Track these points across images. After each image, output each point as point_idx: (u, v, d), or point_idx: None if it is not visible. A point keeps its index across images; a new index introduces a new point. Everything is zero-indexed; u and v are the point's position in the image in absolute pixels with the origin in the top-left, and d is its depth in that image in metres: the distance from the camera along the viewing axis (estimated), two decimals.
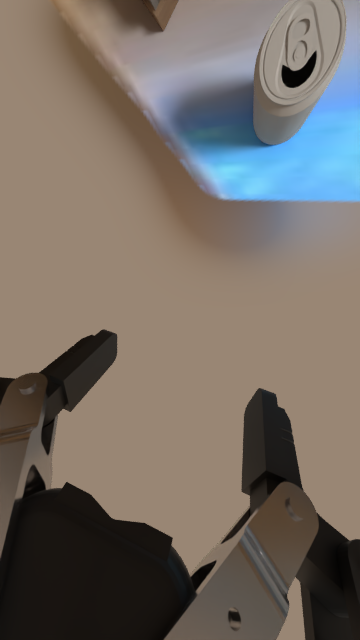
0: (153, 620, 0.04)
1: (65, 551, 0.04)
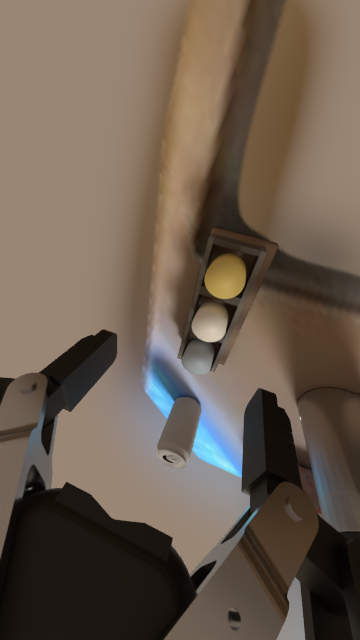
0: (153, 620, 0.04)
1: (65, 551, 0.04)
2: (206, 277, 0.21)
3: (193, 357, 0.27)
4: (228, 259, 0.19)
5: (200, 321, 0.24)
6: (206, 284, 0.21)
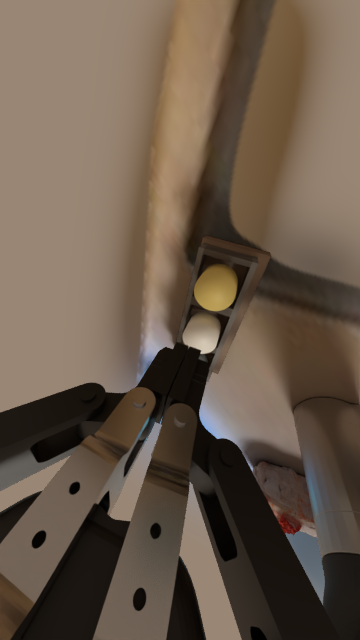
0: (91, 609, 0.04)
1: (65, 551, 0.04)
2: (196, 289, 0.20)
3: None
4: (218, 271, 0.19)
5: (191, 333, 0.23)
6: (196, 296, 0.20)
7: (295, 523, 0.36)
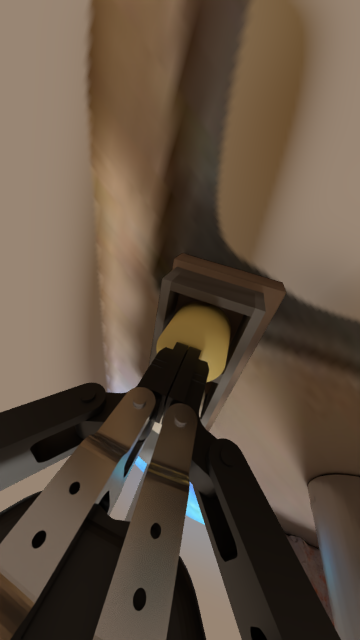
0: (92, 608, 0.04)
1: (65, 551, 0.04)
2: (159, 348, 0.12)
3: (152, 451, 0.17)
4: (194, 324, 0.11)
5: None
6: None
7: None
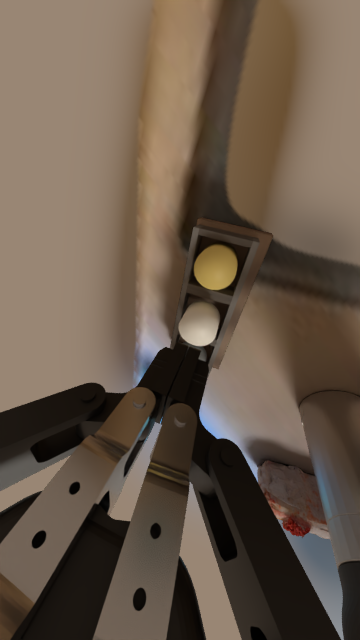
0: (91, 609, 0.04)
1: (65, 551, 0.04)
2: (196, 267, 0.20)
3: None
4: (218, 247, 0.18)
5: (187, 323, 0.21)
6: (196, 275, 0.20)
7: (304, 525, 0.34)
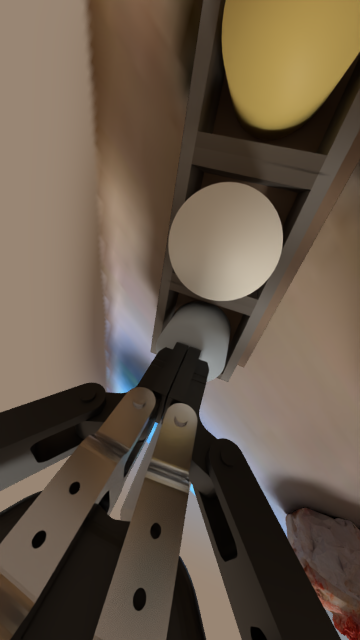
0: (92, 608, 0.04)
1: (65, 551, 0.04)
2: (229, 18, 0.06)
3: (182, 341, 0.11)
4: None
5: (195, 227, 0.07)
6: (228, 57, 0.06)
7: None
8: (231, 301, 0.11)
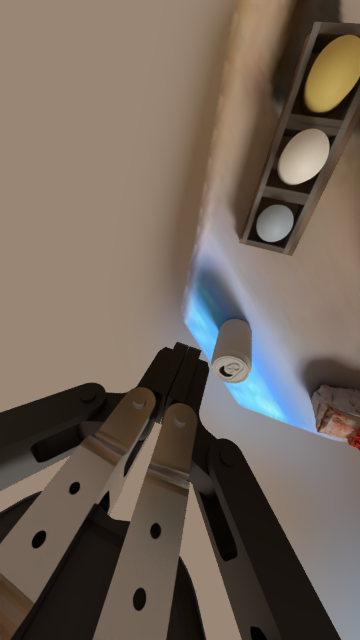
0: (92, 608, 0.04)
1: (65, 551, 0.04)
2: (311, 74, 0.18)
3: (272, 215, 0.24)
4: None
5: (294, 148, 0.19)
6: (309, 87, 0.18)
7: None
8: (295, 197, 0.24)
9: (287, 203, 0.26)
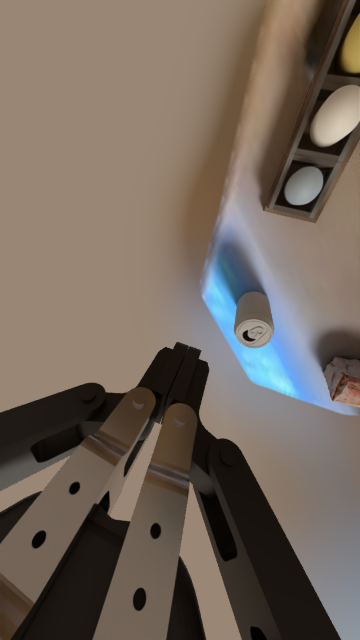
0: (92, 608, 0.04)
1: (65, 551, 0.04)
2: (351, 32, 0.19)
3: (303, 177, 0.25)
4: None
5: (332, 105, 0.20)
6: (349, 45, 0.20)
7: None
8: (325, 160, 0.25)
9: None
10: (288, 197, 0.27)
